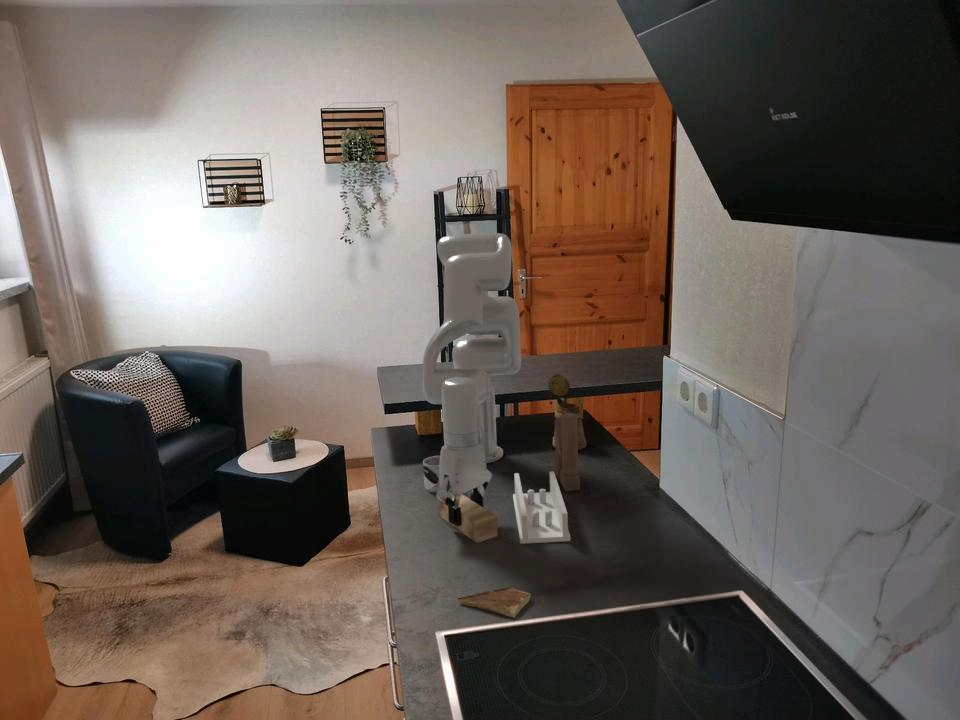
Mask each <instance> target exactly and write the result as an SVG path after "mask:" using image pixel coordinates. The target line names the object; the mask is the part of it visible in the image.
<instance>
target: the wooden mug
mask: <svg viewBox="0 0 960 720" xmlns="http://www.w3.org/2000/svg"><path fill="white" fill-rule="evenodd" d="M548 389H549V392H550V394H551V395H552V396H553V397H555V398H556V402H557V407H556V410H555V413H554V418H555V420H557V419H561V416H562V414H564V413H575V414H576V415H577V436H578V451H579V450H582V449H585V448H586V447H587V440H586V439H587V438H586V437H585V432H584V427H583V421H582V414H583V413H582V409H581V407H580V404H578V403H575V402H574V403H568V399H567V396H568V395H569V393H570V391H571V390H570V389H571V386H570V383H569V381H568V380H567V378H565V376H563V375H561V374H558V373H554V374H553V375H552V376H551V378H550V379H549V381H548ZM552 446H553V447H554V449H555V448H556V447H555V432H554V436H552Z"/></svg>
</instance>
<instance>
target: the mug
mask: <svg viewBox="0 0 960 720" xmlns="http://www.w3.org/2000/svg"><path fill="white" fill-rule="evenodd" d="M422 465H423V466H422V468H423V483H424V486H423V487H424V490H425V491H426V492H428V493H433V494H437V492H438V491H439V489H440V484H439V465H440V455H434V456H428V457H426V458H424V459H423V460H422Z"/></svg>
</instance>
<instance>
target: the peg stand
mask: <svg viewBox="0 0 960 720" xmlns="http://www.w3.org/2000/svg"><path fill="white" fill-rule="evenodd" d="M513 475H514V478H513V479H514V493H513V494H512V500H513V501H512V502H513V505H514V512H515V513H514V514H515V519H516V526H517V530H518V538H519V544H537V543H538V544H539V543H556V542H571V534H570V531H569V526H568V525H569V524H568V523H569V522H568V519H569V517H568V516H569V515H568V511H567V507H566V504H565V502H564V499H563V495H562V492H561V489H560V485H559V483H558V480H557V479H558V478H557V475H556V472H555V471H554V470H553V471H552V470H551V471H549V491H547V489H546V488H540V489H539V492H535V490H534V489H531V488H530V489H528V490H527V493H523V487H522V483H521V478H520V473H519V472H515V473H514V474H513Z"/></svg>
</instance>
